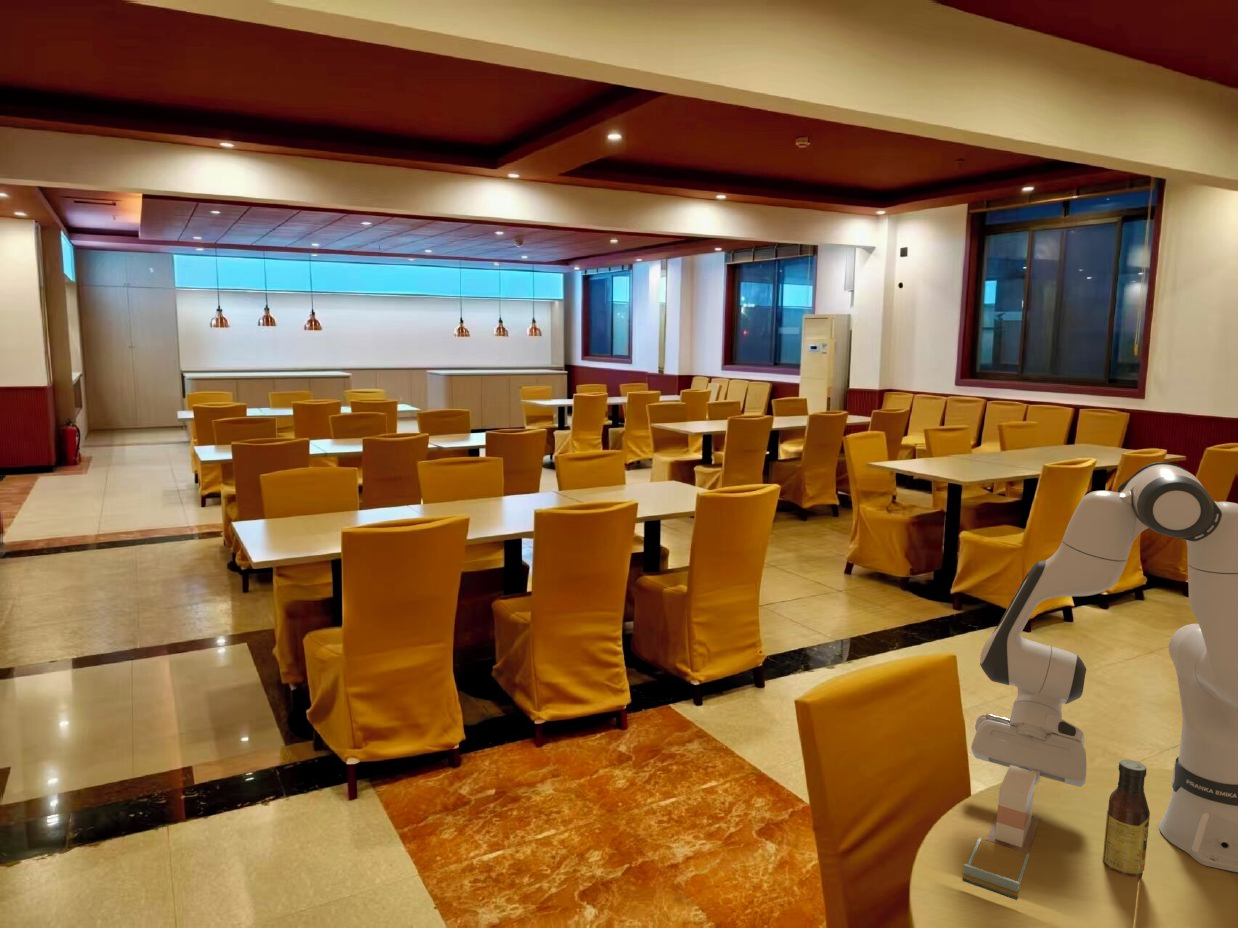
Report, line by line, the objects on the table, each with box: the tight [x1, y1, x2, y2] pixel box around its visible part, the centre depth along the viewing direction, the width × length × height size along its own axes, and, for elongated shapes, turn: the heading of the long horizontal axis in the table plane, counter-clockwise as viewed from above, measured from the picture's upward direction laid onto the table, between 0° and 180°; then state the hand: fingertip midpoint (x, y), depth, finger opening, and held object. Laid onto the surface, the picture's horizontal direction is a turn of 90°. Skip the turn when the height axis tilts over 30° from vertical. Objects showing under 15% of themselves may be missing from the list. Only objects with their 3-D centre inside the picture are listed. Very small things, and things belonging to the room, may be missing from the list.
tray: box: [962, 837, 1031, 901], centre depth 147 cm, size 8×12×3 cm
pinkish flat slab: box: [985, 815, 1041, 854], centre depth 158 cm, size 7×14×2 cm, turn 146°
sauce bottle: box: [1102, 759, 1151, 882], centre depth 146 cm, size 7×6×20 cm
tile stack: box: [995, 765, 1036, 847], centre depth 157 cm, size 4×10×10 cm, turn 146°
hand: (1021, 792), depth 162 cm, fingers closed
